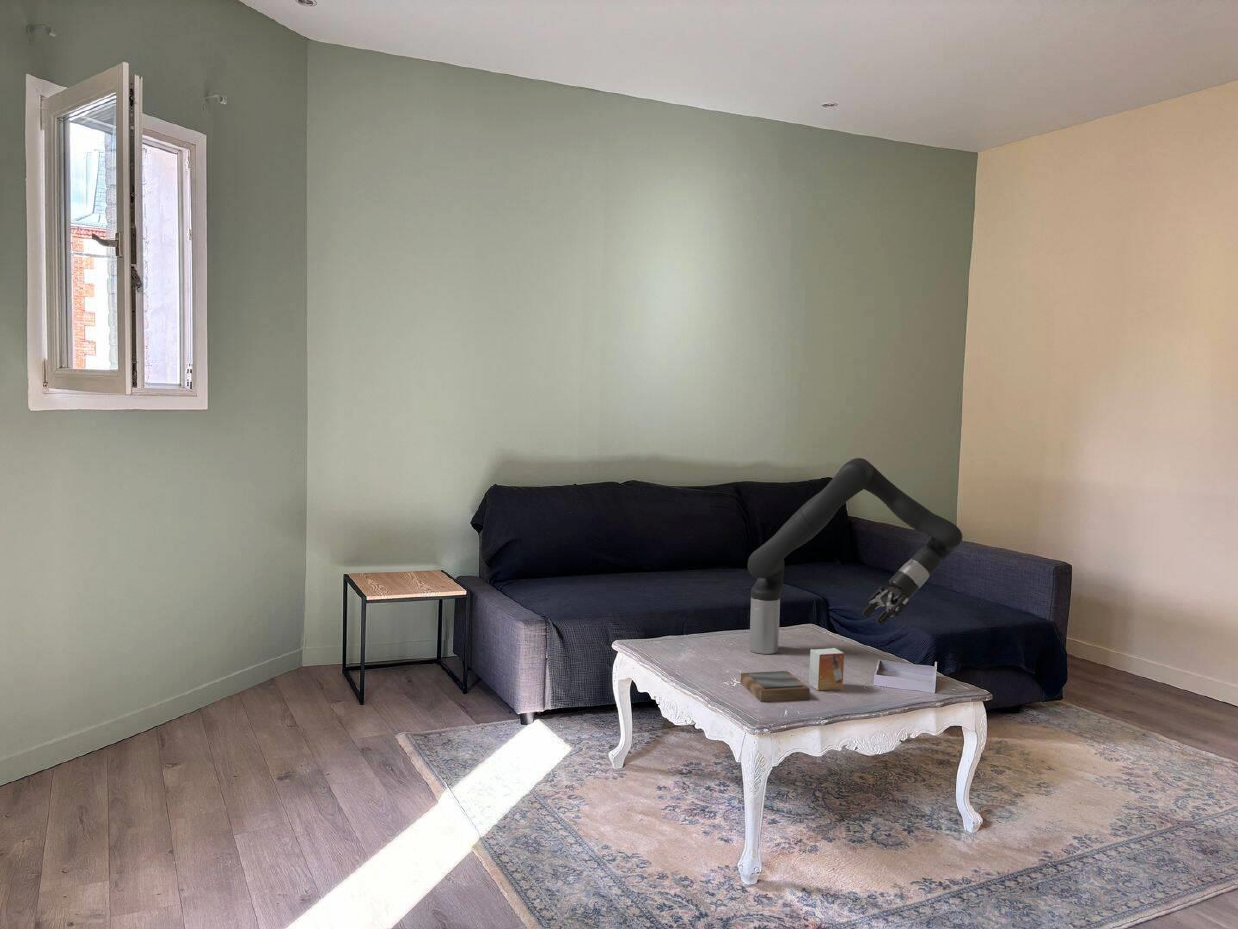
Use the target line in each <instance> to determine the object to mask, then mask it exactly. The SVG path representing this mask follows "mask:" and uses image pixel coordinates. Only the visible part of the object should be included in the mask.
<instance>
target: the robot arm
mask: <svg viewBox="0 0 1238 929" xmlns="http://www.w3.org/2000/svg"><path fill="white" fill-rule="evenodd" d="M864 490H865V491H867V492H869V493H870V494H872V495H873V496H875V497H877V498H878V499H879V500H880V501H881V502H882V503H883V504H884V505H885V506H886V507H887V508H888V509H889V510H890V511H891V513H893V514H894V515H895V516H896V518H898V519H899V520H900V521H902V522H903V523H905V524H906V525H908V526H909V527H910V528H912V529H913V530H914V531H916V532H918V533H920V534H922V533H923V534H926V535H927V536H929V537H930V539H929V540H928V541H927V542H926V543H925V545H924V546H922V547H921V548H920V549H918V550H917V552H915V554H914V555H913V556H911V558H910V559H909V560H908V561H907V562H906V563H904V564H903V565H902V566H901V567H900V568H899V569H898V570H897V572H895V573H894V575H893V576H891V578H890V579H889V580H888V584H889V586H888V587H887V588H885V587H884V586H883V585H880V586H879V588H878V589H877V590H876V591H875V592H874V593H872V595H871V596H870V597H868V599H867V600H868V602H869V604H868V606H866V608H864V609H863V611H862V612H861V614H862V616H864V618H866V619H868V618H869V617H870V616H872V614H873V613H874V612H875V611H876V610H877V609H879V608H880V607H885V606H886V608H885V610H884V611H883V612H882V613H880V615H879V616H878V617H877V618H876V620H875V621H876V623H877V624H878V625H879V626H883V625H884V624H885V623H886V622H887V621H888V620H889V619H890V618H892V617H894V616H895V617H899V615H900V614H901V613H902V612H903V611H904V609H905V608H907V607H908V605H909V604H910V602H911V601H910V600H911V598H912V597H913V595H915V593H917V592H918V591H919V589H920V588H921V587H922V586H923V585H924V584H925V582H927V581H928V579H929V577H930V576H931V575H932V574H933V573H934V572H935V571H936V570H937V569H938V567H939V566H940V565H941V563H942V562H943V561H944V560H945V559H946V558H947V557H948V556H949V555H951V553H952V552H954V551H955V549H956V548H958V546H960V544H961V543H962V541H963V533H962V531H961V529H960V528H959V526H957V525H956V524H954V523H953V522H951V521H949V520H948V519H946V518H944V517H942V516H940V515H938V514H935V513H933V512H932V511H930V509H928V508H927V507H925V506H924V505H923V504H921V503H920V502H918V501H916V500H915V499H914V498H912V497H910V496H909V495H908V494H906V493H905V492H904V491H902V490H901V489H900V488H899V487H897V486H896V485H895V484H894V483H893V482H891V480H889V479H888V478H886V476H884V475H883V474H882V472H880V471H879V470H878V469H877V467H875V466H874V465H873V464H872V463H871V462H870V461H868V460H867V459H865V458H861V457H855V458H852V459H850V460H849V461H847V462H845V464H843V465H842V466H841V468H840V469H839V470H838V472H836V473H835V475H834V476H833V478H832V479H831V480H830V481H829V483H827V485H826V486H825V487H824V488H823V489H822V490H820V491H819V492H818V493H816V494H815V495H814V496H813V497H811V498H809V499H808V500H807V501H806V502H805V503H804V504H803V505H802V506H801V507H800V508H799V509H797V511H796V512H794V513H793V514H792V515H791V517H790V518H789V519H788V520H787V521H785V523H784V524H783V525H782V526H781V527H780V528H779V529H778V531H776V532H775V534H774V535H773V536H772V537H770V538H769V540H767V541H765V543H763V544H762V545H761V546H760V547H758V548H757V549H755V550H754V551H753V552H752V553H751V554H750V556H749V557H748V561H747V569H748V572H749V573H750V575H751V576H753V577H754V578H757V579H756V582H755V583H754V585H753V586H752V588H751V590H750V617H749V618H750V619H749V620H750V623H749V625H750V626H749V651H750V652H753V653H756V654H763V655H768V654H769V655H771V654H776V653H778V652H779V642H780V641H779V639H780V617H781V616H780V610H781V593H782V590H783V586H784V578H785V576H784V575H785V560H784V559H785V558H786V557H787V556H788V555H790V553H792V552H793V551H795V550H796V549H799V547H802V546H803V545H804V544H806V543H807V542H809V541H810V540H812V539H813V538H814V537H816V536H817V534H819V533H820V532H821V531H822V530H823V529H824V528H825V527H826V526H827V525H828V523H829V522H830V521H832V519H833V518H834V516H835V515H836V513H837V512H838V510H839V509H840V508H841V507H842V506H843V505H844V504H846V503H847V502H848V501H850V500H851V499H852V498H853V497H855V496H856V495H857V494H859V493H860V492H862V491H864Z"/></svg>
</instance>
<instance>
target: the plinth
mask: <svg viewBox="0 0 1238 929" xmlns="http://www.w3.org/2000/svg"><path fill="white" fill-rule="evenodd" d="M740 684H741V685H742V686H743V687H744V688H745V689H746V690H747V691H749V693H750V694H752V695H753V696H754V697H755V698H756V699H757V700H758V701H760V702H762V703H763V702H765V703H766V702H780V701H781V702H782V700H783V701H796V700H797V701H799V700H810V689H811V688H810V686H808V685H806V684H805V683H804V682H802V681H801V680H800V679H799V678H797V677H796V676H794V675H793V674H792V673H791V672H789V671H788V670H776V671H775V670H774V671H757V672H756V671H755V672H740ZM795 699H796V700H795Z"/></svg>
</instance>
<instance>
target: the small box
mask: <svg viewBox="0 0 1238 929" xmlns="http://www.w3.org/2000/svg"><path fill="white" fill-rule="evenodd" d="M844 666H845V652H843V651H841V650H840V649H838V648H836V647H831V648H819V649H818V648H816V649H814V648H813V649H812V648H811V649H810V654H809V673H808V674H809V675H808V676H809V678H808V685H809V687H810V686H811V687H812V688H814V690H817V691H826V690H827V691H829V690H830V691H831V690H843V686H844V683H843V682H844Z"/></svg>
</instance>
